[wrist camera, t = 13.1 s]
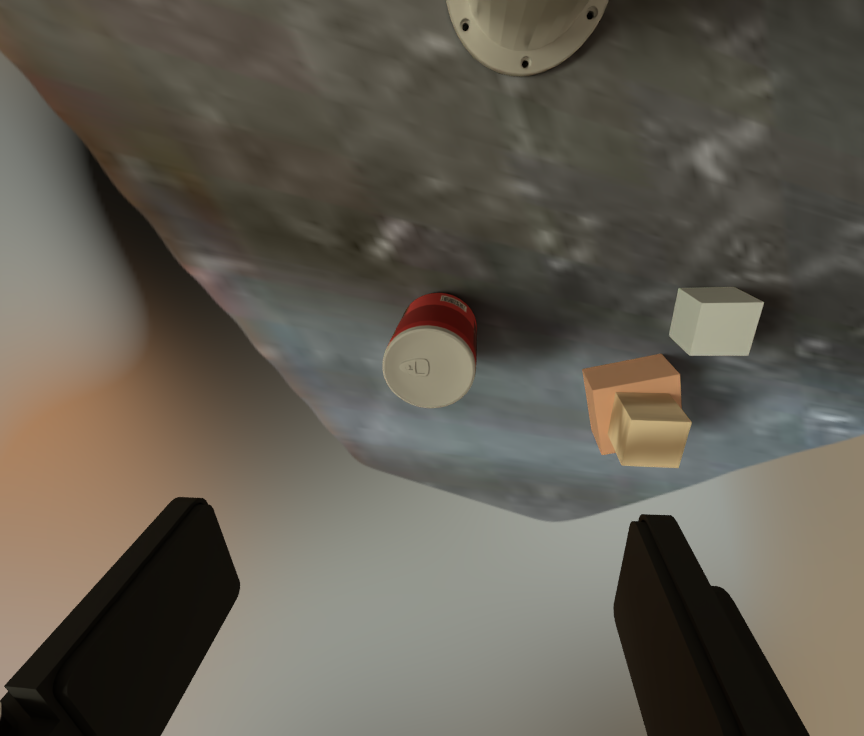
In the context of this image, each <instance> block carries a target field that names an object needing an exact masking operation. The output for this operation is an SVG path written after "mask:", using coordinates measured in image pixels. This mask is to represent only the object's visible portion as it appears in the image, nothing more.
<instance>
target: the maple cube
mask: <svg viewBox="0 0 864 736" xmlns="http://www.w3.org/2000/svg"><path fill="white" fill-rule="evenodd" d="M691 423H692V422H691V421H690V419H689V418H688V417H687V415H686V414H685V413H684V412H683V410H682V409H681V408H680V407H679V405H678V404H677V403H676V401H675V400H674V399H673V398H672V396H671V395H670V394H669V393H635V392H616V393H615V398H614V403H613V408H612V414H611V419H610V424H609V429H608V436H609V438H610V441H611V443H612V445H613V447H614V449H615V452H616V454H617V456H618V458H619V461H620V463H621V465H623V466H645V467H667V468H679V464H680V461H681V458H682V454H683V451H684V447H685V444H686V440H687V437H688V433H689V430H690V427H691Z"/></svg>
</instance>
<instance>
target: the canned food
mask: <svg viewBox="0 0 864 736" xmlns="http://www.w3.org/2000/svg"><path fill="white" fill-rule="evenodd" d="M476 353H477V323H476V319H475V316H474V314H473V312H472V310H471V309H470V308H469V306H468V305H467V304H466V303H464V302H463V301H462V300H461V299H459V298H457V297H455V296H453V295H450V294H446V293H431V294H427V295H424V296H421V297H419V298H417V299H416V300H415V301H413V302H412V303H411V304H410V305H409V307H408V308H407V309H406V311H405V313H404V315H403V317H402V319H401V321H400V323H399V325H398V326H397V328H396V330H395V332H394V334H393V336H392V338H391V340H390V342H389V344H388V346H387V349H386V351H385V354H384V358H383V374H384V377H385V380H386V382H387V384H388V386H389V387H390V389H391V390H392V391H393V392H394V393H395V394H396V395H397V396H398V397H399V398H401V399H402V400H404V401H406V402H408V403H410V404H412V405H415V406H419V407H424V408H439V407H444V406H447V405H450V404H453V403H455V402H456V401H458V400H459V399H461V398H462V397H463V396H464V395H465V394H466V393H467V392H468V390H469V389H470V387H471V385H472V383H473V380H474V377H475V371H476Z"/></svg>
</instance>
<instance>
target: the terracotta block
mask: <svg viewBox="0 0 864 736" xmlns="http://www.w3.org/2000/svg"><path fill="white" fill-rule="evenodd" d="M582 371H583V377H584V384H585V390H586V397H587V403H588V410H589V416H590V423H591V429H592V432H593V434H594V437H595V439H596V442H597V444H598V447H599V449H600V452H601V454H602V455H605V454H611V453H616V452H615V449H614V447H613V445H612V443H611V441H610V438H609V436H608V429H609V424H610V419H611V414H612V408H613V403H614V398H615V393H616V392H635V393H669V394H670V395H671V396H672V398H673V399H674V400H675V401H676V403H677V404H678V405H679V407H680V408H681V409H682V406H681V385H680V374H679V373H678V372H677V370H676V369H675V368H674V367H673V366H672V365H671V364H670V363H669V362H668V361H667V360H666V358H665V357H664V356H663V355H662V354H657V355H652V356H647V357H642V358H637V359H632V360H626V361H621V362H616V363H611V364H606V365H601V366H596V367H591V368H586V369H582Z"/></svg>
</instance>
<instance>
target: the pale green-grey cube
mask: <svg viewBox="0 0 864 736" xmlns="http://www.w3.org/2000/svg"><path fill="white" fill-rule="evenodd" d="M763 304H764V302H763V301H761V300H759V299H757V298H755V297H753V296H751V295H749V294H747V293H745V292H743V291H741V290H739V289H737V288H735V287H700V288H679V289H678V294H677V299H676V304H675V309H674V313H673V318H672V323H671V328H670V333H669V336H670V337H671V338H672V339H673V340H674V341H675V342H676V343H677V344H678V345H679V346H680V347H681V348H682V349H683V350H684V351H685V352H686V353H687V354H688V355H690V356H748V355H749V351H750V348H751V345H752V341H753V338H754V335H755V331H756V328H757V325H758V321H759V318H760V315H761V311H762V308H763Z"/></svg>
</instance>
